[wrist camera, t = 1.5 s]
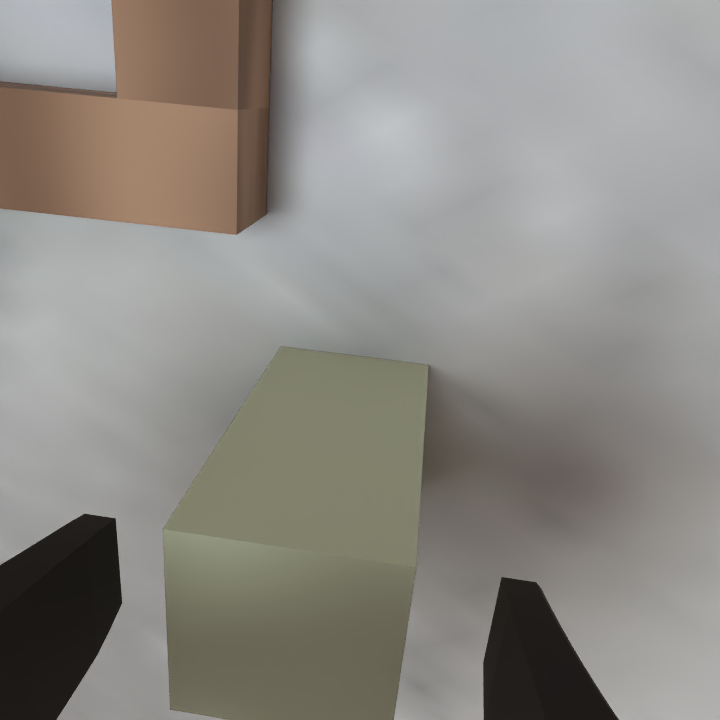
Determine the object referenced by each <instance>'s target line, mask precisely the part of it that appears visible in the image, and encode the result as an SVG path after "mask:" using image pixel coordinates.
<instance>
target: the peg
mask: <svg viewBox="0 0 720 720" xmlns="http://www.w3.org/2000/svg"><path fill="white" fill-rule="evenodd" d="M428 368H429V365H426V364H418V363H410V362H402V361H394V360H386V359H378V358H370V357H362V356H354V355H346V354H338V353H330V352H322V351H314V350H306V349H298V348H290V347H282V346H281V347H280V349H279V350H278V352H277V353H276V355H275V356H274V358H273V360H272V361H271V363H270V364H269V366H268V367H267V369H266V370H265V372H264V373H263V375H262V377H261V378H260V380H259V381H258V383H257V384H256V386H255V387H254V389H253V390H252V392H251V394H250V395H249V397H248V398H247V400H246V401H245V403H244V404H243V406H242V407H241V409H240V411H239V412H238V414H237V415H236V417H235V418H234V420H233V421H232V423H231V424H230V426H229V428H228V429H227V431H226V432H225V434H224V435H223V437H222V438H221V440H220V441H219V443H218V444H217V446H216V448H215V449H214V451H213V452H212V454H211V455H210V457H209V458H208V460H207V461H206V463H205V465H204V466H203V468H202V469H201V471H200V472H199V474H198V475H197V477H196V478H195V480H194V482H193V483H192V485H191V486H190V488H189V489H188V491H187V492H186V494H185V495H184V497H183V499H182V500H181V502H180V503H179V505H178V506H177V508H176V509H175V511H174V512H173V514H172V516H171V517H170V519H169V520H168V522H167V523H166V525H165V526H164V528H163V550H164V573H165V597H166V621H167V645H168V669H169V693H170V710H176V711H182V712H188V713H193V714H199V715H205V716H211V717H217V718H222V719H228V720H394V714H395V707H396V700H397V694H398V687H399V680H400V673H401V667H402V660H403V653H404V647H405V640H406V633H407V626H408V620H409V613H410V606H411V599H412V593H413V586H414V579H415V573H416V564H417V547H418V531H419V515H420V498H421V482H422V466H423V449H424V433H425V417H426V400H427V384H428Z"/></svg>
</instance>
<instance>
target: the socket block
mask: <svg viewBox="0 0 720 720" xmlns="http://www.w3.org/2000/svg"><path fill="white" fill-rule="evenodd" d="M112 16H113V34H114V51H115V69H116V87H117V93H113V92H103V91H92V90H82V89H71V88H61V87H51V86H40V85H30V84H19V83H9V82H0V208H2V209H11V210H20V211H29V212H38V213H47V214H56V215H65V216H74V217H82V218H91V219H100V220H109V221H118V222H127V223H136V224H145V225H154V226H163V227H172V228H181V229H190V230H199V231H208V232H217V233H226V234H235V235H237V234H238V233H240V232H241V231H243V230H244V229H246V228H247V227H249V226H250V225H252V224H253V223H254V222H256V221H257V220H259V219H260V218H262V217H263V216H265V215H266V201H267V165H268V129H269V93H270V57H271V21H272V0H112Z"/></svg>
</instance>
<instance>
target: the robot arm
mask: <svg viewBox="0 0 720 720" xmlns="http://www.w3.org/2000/svg"><path fill="white" fill-rule="evenodd" d="M121 604H122V596H121V583H120V570H119V557H118V544H117V531H116V519H115V518H109V517H102V516H96V515H89V514H84V515H82V516H80V517H78V518H77V519H75V520H73V521H71V522H70V523H68V524H66V525H65V526H63V527H62V528H60V529H58V530H57V531H55V532H53V533H52V534H50V535H49V536H47V537H45V538H44V539H42V540H41V541H39V542H37V543H36V544H34V545H32V546H31V547H29V548H28V549H26V550H24V551H23V552H21V553H20V554H18V555H16V556H15V557H13V558H11V559H10V560H8V561H6V562H5V563H3V564H1V565H0V720H56V719H57V718H58V716H59V715H60V713H61V712H62V710H63V708H64V707H65V705H66V704H67V702H68V701H69V699H70V697H71V696H72V694H73V693H74V691H75V690H76V688H77V686H78V685H79V683H80V682H81V680H82V679H83V677H84V675H85V674H86V672H87V671H88V669H89V667H90V666H91V664H92V663H93V661H94V659H95V658H96V656H97V654H98V652H99V650H100V648H101V646H102V644H103V642H104V640H105V638H106V636H107V634H108V632H109V630H110V628H111V626H112V624H113V622H114V619H115V617H116V615H117V613H118V611H119V609H120V606H121ZM483 677H484V720H619V719H618V718H617V716H616V715H615V713H614V712H613V711H612V709H611V708H610V706H609V704H608V703H607V701H606V700H605V698H604V697H603V695H602V694H601V692H600V691H599V689H598V687H597V686H596V684H595V683H594V681H593V679H592V678H591V676H590V675H589V673H588V671H587V670H586V668H585V667H584V665H583V663H582V662H581V660H580V658H579V657H578V655H577V653H576V652H575V650H574V648H573V647H572V645H571V643H570V641H569V640H568V638H567V636H566V634H565V633H564V631H563V629H562V627H561V625H560V624H559V622H558V620H557V618H556V616H555V614H554V613H553V611H552V609H551V607H550V605H549V603H548V601H547V599H546V597H545V595H544V593H543V591H542V589H541V588H540V587H539V585H538V584H537V583H536V582H530V581H523V580H517V579H510V578H504V577H502V578H501V583H500V587H499V592H498V597H497V601H496V606H495V611H494V615H493V620H492V625H491V629H490V634H489V639H488V643H487V648H486V652H485V657H484V662H483Z"/></svg>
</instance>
